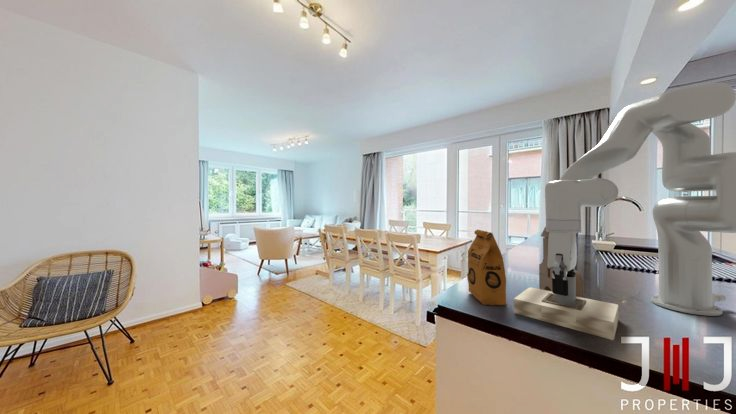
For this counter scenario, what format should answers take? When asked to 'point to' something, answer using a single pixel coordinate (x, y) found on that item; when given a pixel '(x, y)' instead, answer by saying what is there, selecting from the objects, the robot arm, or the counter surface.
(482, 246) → the coffee package
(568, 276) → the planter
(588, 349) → the counter surface
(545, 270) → the wooden toy
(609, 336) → the rectangular box
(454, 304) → the counter surface
